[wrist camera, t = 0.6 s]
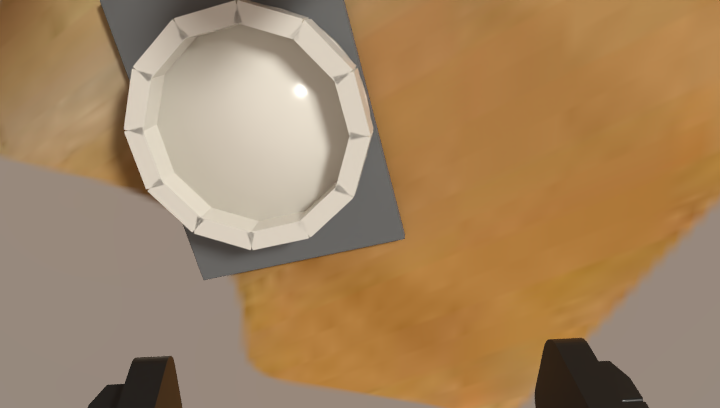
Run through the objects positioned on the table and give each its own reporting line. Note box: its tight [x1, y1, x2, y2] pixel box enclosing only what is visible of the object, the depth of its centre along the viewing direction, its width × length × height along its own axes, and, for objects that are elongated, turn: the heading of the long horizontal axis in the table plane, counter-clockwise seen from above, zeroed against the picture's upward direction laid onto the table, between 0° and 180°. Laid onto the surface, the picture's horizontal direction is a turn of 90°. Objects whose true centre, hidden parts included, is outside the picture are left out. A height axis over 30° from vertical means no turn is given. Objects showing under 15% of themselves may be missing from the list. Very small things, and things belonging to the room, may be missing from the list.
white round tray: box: [124, 0, 374, 250], centre depth 31 cm, size 12×12×2 cm
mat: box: [100, 0, 405, 280], centre depth 33 cm, size 16×12×1 cm
